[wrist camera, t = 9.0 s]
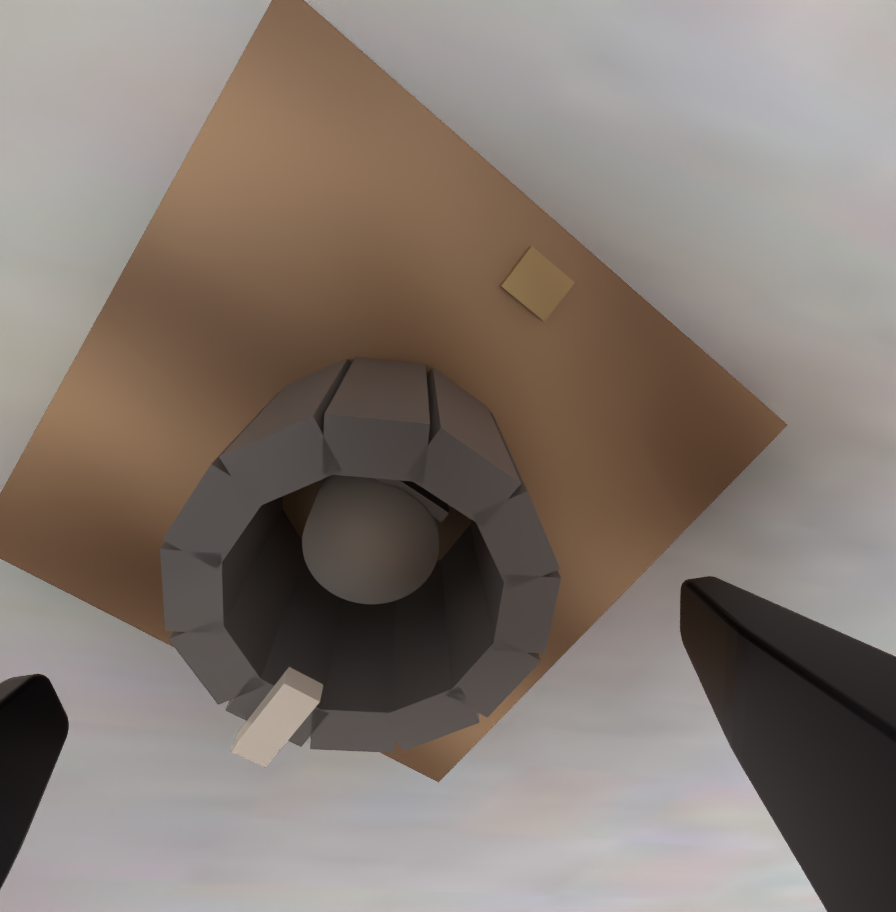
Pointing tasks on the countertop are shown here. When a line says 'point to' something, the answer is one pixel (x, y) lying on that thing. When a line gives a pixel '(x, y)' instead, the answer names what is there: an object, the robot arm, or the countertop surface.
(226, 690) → the gray faceted pot
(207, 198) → the square brown plate
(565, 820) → the countertop surface
